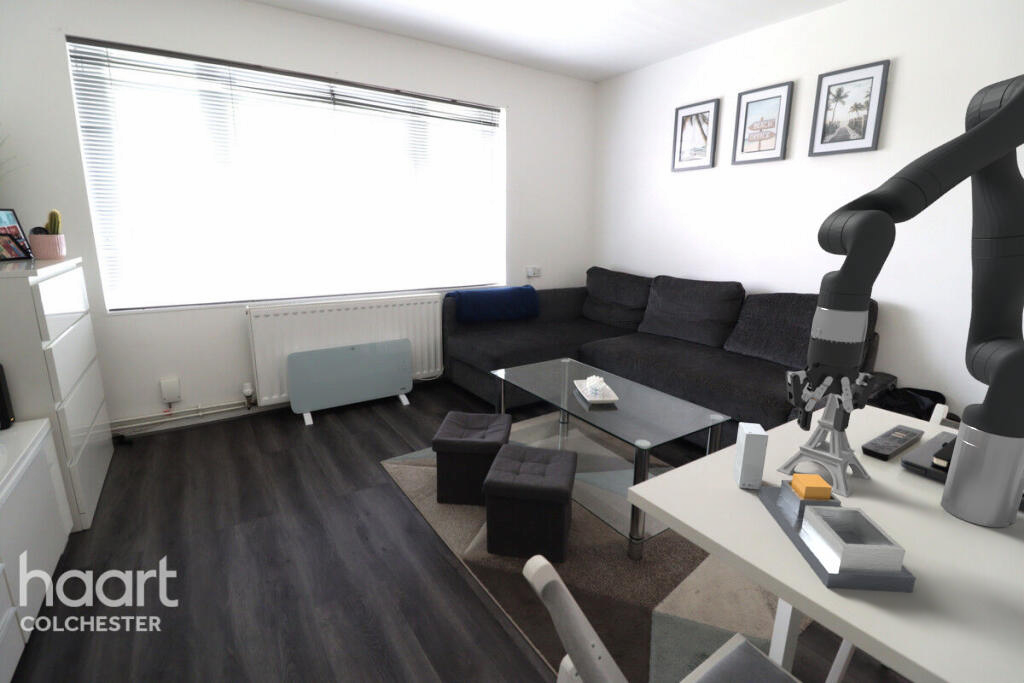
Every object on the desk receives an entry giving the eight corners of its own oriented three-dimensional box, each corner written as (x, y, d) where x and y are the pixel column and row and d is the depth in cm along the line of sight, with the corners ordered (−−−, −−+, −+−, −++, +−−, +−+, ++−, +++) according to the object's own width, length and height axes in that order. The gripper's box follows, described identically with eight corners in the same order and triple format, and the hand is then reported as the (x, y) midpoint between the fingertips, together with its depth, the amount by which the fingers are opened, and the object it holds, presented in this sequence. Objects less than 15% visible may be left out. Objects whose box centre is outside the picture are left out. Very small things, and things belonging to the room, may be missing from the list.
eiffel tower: (802, 453, 113) (823, 328, 106) (870, 477, 103) (897, 340, 96) (776, 471, 105) (796, 337, 98) (846, 498, 95) (874, 350, 88)
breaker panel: (821, 500, 94) (827, 470, 92) (912, 592, 70) (921, 553, 69) (758, 497, 94) (762, 467, 93) (826, 587, 71) (833, 549, 70)
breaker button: (815, 489, 89) (818, 474, 88) (829, 502, 85) (831, 487, 84) (791, 488, 89) (793, 473, 89) (803, 501, 85) (805, 486, 84)
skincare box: (761, 490, 97) (769, 435, 94) (738, 488, 98) (745, 433, 95) (752, 475, 103) (760, 423, 100) (731, 473, 104) (738, 421, 101)
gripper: (868, 331, 83) (850, 422, 87) (782, 329, 84) (768, 419, 88) (898, 341, 76) (878, 440, 80) (804, 339, 77) (788, 437, 81)
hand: (821, 429), depth 84 cm, fingers open, 5 cm apart
